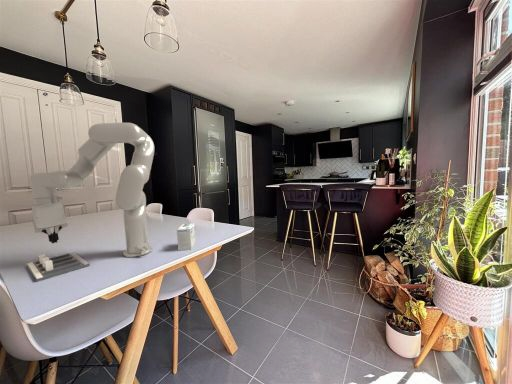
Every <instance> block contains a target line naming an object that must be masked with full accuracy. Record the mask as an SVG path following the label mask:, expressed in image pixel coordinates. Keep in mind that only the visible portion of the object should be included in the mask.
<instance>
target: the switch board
mask: <svg viewBox="0 0 512 384" xmlns="http://www.w3.org/2000/svg"><path fill="white" fill-rule="evenodd" d="M49 260H52V262H53V269H52V270H49V271H46V270H45V267H42V264H40V262H39V260H37V261H34V262H32V261H31V262H28V263H26V267H27V269H28V271H29V272H30V274H31V276H32V277H33V278H34V280H35V282H40V281H44V280H48V279H51V278H54V277H58V276H60V275H64V274H67V273H70V271H71V272H74V271H77V270H80V269H84V268H86V267H90V262H88V261H86V260H85V259H84V258H83V257H81V256H80V255H78V254H77V253H75V252H74V251H72V252H69V253H64V254H61V255H57V256H52V257H49Z"/></svg>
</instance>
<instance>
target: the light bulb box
mask: <svg viewBox="0 0 512 384" xmlns="http://www.w3.org/2000/svg"><path fill="white" fill-rule="evenodd" d="M176 236H177V237H176V238H177V250H178V251H192V249H193V248H194V247H195V245H196V230H195V223H183V224H181V225H180V226H179V227H178V228H177V229H176Z"/></svg>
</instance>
